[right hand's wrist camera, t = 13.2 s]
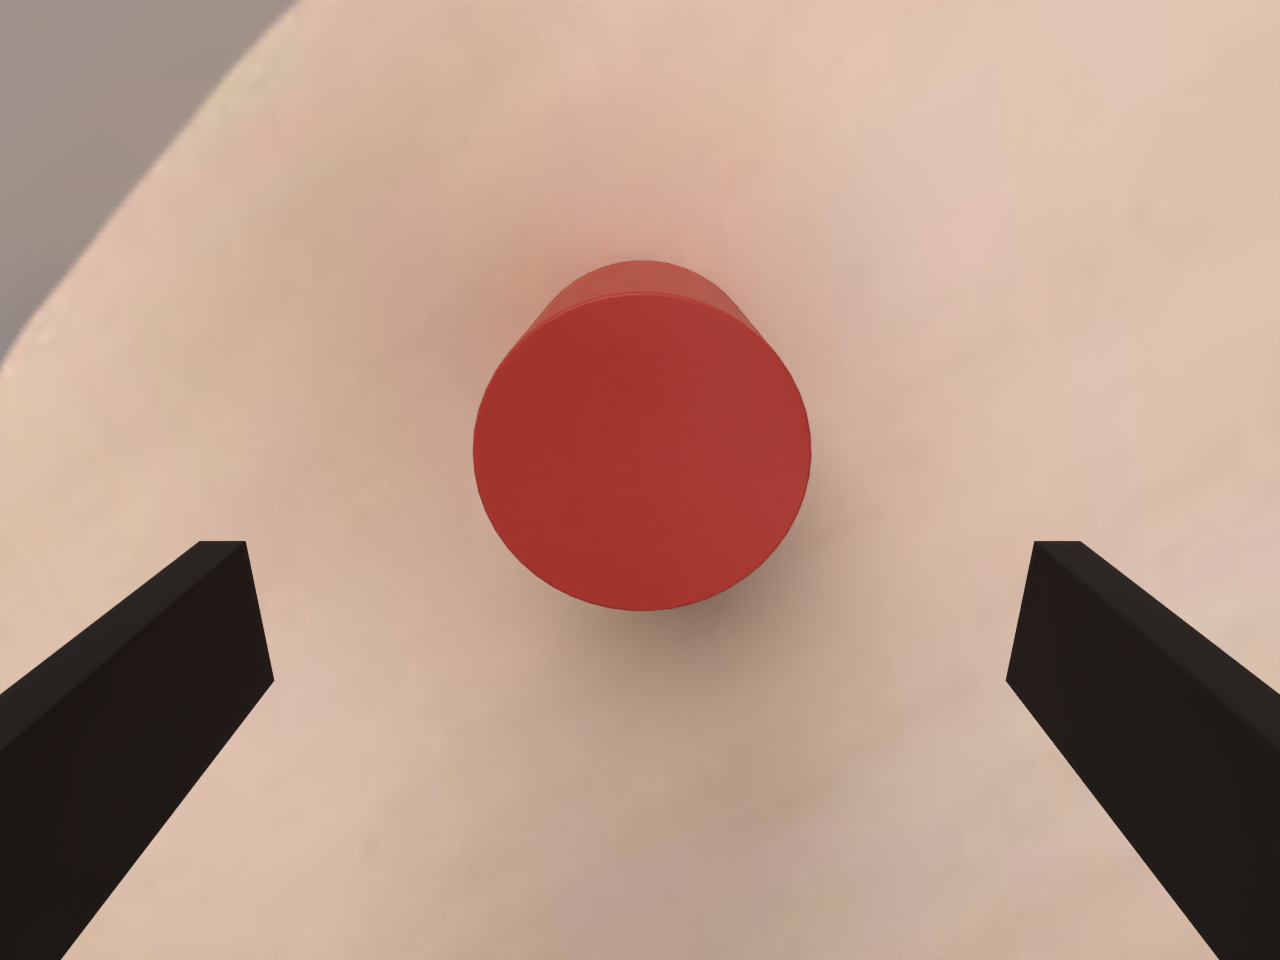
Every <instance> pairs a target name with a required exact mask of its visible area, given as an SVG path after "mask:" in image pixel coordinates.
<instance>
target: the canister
mask: <svg viewBox="0 0 1280 960" xmlns="http://www.w3.org/2000/svg"><path fill="white" fill-rule="evenodd" d="M473 462H474V473H475V478H476V483H477V487H478V492H479V495H480V498H481V501H482V503H483V506H484V509H485V512H486V514H487V516H488V518H489V519H490V521H491V523H492V525H493V527H494V529H495V531H496V532H497V534H498V535H499V537H500V538H501V539H502V541H503V542H504V544H505V545H506V547H507V548H508V549H509V550H510V551H511V552H512V553H513V555H514V556H515V557H516V558H517V559H518V560H519V561H520V562H521V563H522V564H523V565H524V566H525V567H527V568H528V569H529V570H530V571H531V572H532V573H534V574H535V575H536V576H537V577H539V578H540V579H542V580H543V581H545V582H546V583H548V584H549V585H551V586H552V587H554V588H556V589H558V590H560V591H562V592H564V593H566V594H568V595H570V596H572V597H574V598H577V599H580V600H583V601H585V602H588V603H591V604H595V605H599V606H603V607H607V608H613V609H621V610H629V611H654V610H663V609H672V608H676V607H681V606H685V605H690V604H693V603H696V602H699V601H702V600H705V599H707V598H710V597H712V596H714V595H716V594H718V593H721V592H723V591H725V590H727V589H729V588H730V587H732V586H733V585H735V584H736V583H738V582H740V581H741V580H743V579H744V578H746V577H747V576H748V575H749V574H751V573H752V572H753V571H754V570H755V569H757V568H758V567H759V566H760V565H761V564H762V563H763V562H764V561H765V560H766V559H767V558H768V557H769V556H770V555H771V554H772V553H773V552H774V551H775V549H776V548H777V547H778V545H779V544H780V543H781V541H782V540H783V538H784V537H785V536H786V534H787V533H788V531H789V529H790V527H791V526H792V524H793V522H794V520H795V518H796V516H797V514H798V512H799V509H800V507H801V504H802V501H803V499H804V496H805V492H806V488H807V484H808V480H809V475H810V465H811V434H810V429H809V423H808V418H807V413H806V410H805V407H804V404H803V401H802V398H801V395H800V392H799V390H798V388H797V386H796V384H795V382H794V380H793V378H792V376H791V374H790V372H789V371H788V369H787V368H786V367H785V365H784V364H783V362H782V361H781V359H780V358H779V356H778V355H777V354H776V353H775V351H774V350H773V349H772V348H771V346H770V345H769V344H768V343H767V342H766V340H765V339H764V338H763V337H762V336H761V334H760V333H759V332H758V331H757V330H756V328H755V327H754V326H753V325H752V324H751V322H750V321H749V320H748V319H747V318H746V316H745V315H744V314H743V313H742V312H741V310H740V309H739V308H738V307H737V306H736V304H735V303H734V302H733V301H732V300H731V299H730V298H729V297H728V296H727V295H726V294H725V293H724V292H723V291H722V290H721V289H719V288H718V287H717V286H716V285H715V284H713V283H712V282H710V281H709V280H707V279H705V278H704V277H702V276H701V275H699V274H697V273H694V272H692V271H690V270H688V269H685V268H683V267H679V266H676V265H672V264H669V263H663V262H656V261H629V262H621V263H616V264H612V265H609V266H605V267H602V268H599V269H597V270H595V271H592V272H590V273H588V274H586V275H584V276H582V277H581V278H579V279H577V280H576V281H574V282H573V283H571V284H570V285H569V286H568V287H566V288H565V289H564V290H563V291H561V292H560V293H559V294H558V295H557V296H556V297H555V298H554V299H553V300H552V302H551V303H550V304H549V305H548V306H547V307H546V308H545V310H544V311H543V312H542V313H541V314H540V316H539V317H538V318H537V319H536V320H535V322H534V323H533V324H532V325H531V326H530V328H529V329H528V330H527V331H526V332H525V334H524V335H523V336H522V337H521V338H520V340H519V341H518V342H517V343H516V344H515V346H514V347H513V348H512V349H511V350H510V351H509V353H508V354H507V356H506V357H505V358H504V360H503V361H502V362H501V364H500V365H499V367H498V368H497V369H496V371H495V373H494V375H493V377H492V379H491V380H490V382H489V384H488V386H487V388H486V390H485V393H484V396H483V399H482V401H481V404H480V407H479V410H478V414H477V419H476V424H475V429H474V440H473Z"/></svg>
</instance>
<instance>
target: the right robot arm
mask: <svg viewBox="0 0 1280 960" xmlns="http://www.w3.org/2000/svg"><path fill="white" fill-rule="evenodd" d="M273 682H274V677H273V672H272V667H271V662H270V658H269V653H268V648H267V643H266V638H265V633H264V628H263V623H262V619H261V614H260V609H259V604H258V599H257V594H256V589H255V584H254V580H253V575H252V570H251V565H250V560H249V555H248V550H247V545H246V541H199V542H198V543H197V544H195V545H194V546H193V547H191V548H190V549H189V550H187V551H186V552H185V553H184V554H182V555H181V556H180V557H178V558H177V559H176V560H174V561H173V562H172V563H171V564H169V565H168V566H167V567H165V568H164V569H163V570H161V571H160V572H159V573H158V574H156V575H155V576H154V577H152V578H151V579H150V580H148V581H147V582H146V583H145V584H143V585H142V586H141V587H139V588H138V589H137V590H135V591H134V592H133V593H132V594H130V595H129V596H128V597H126V598H125V599H124V600H122V601H121V602H120V603H119V604H117V605H116V606H115V607H113V608H112V609H111V610H109V611H108V612H107V613H106V614H104V615H103V616H102V617H100V618H99V619H98V620H96V621H95V622H94V623H93V624H91V625H90V626H89V627H87V628H86V629H85V630H83V631H82V632H81V633H80V634H78V635H77V636H76V637H74V638H73V639H72V640H70V641H69V642H68V643H67V644H65V645H64V646H63V647H61V648H60V649H59V650H57V651H56V652H55V653H54V654H52V655H51V656H50V657H48V658H47V659H46V660H44V661H43V662H42V663H41V664H39V665H38V666H37V667H35V668H34V669H33V670H31V671H30V672H29V673H28V674H26V675H25V676H24V677H22V678H21V679H20V680H18V681H17V682H16V683H15V684H13V685H12V686H11V687H9V688H8V689H7V690H5V691H4V692H3V693H2V694H0V960H61V959H62V957H63V956H64V955H65V954H66V952H67V951H68V950H69V948H70V947H71V946H72V944H73V943H74V942H75V940H76V939H77V938H78V937H79V935H80V934H81V933H82V931H83V930H84V929H85V927H86V926H87V925H88V923H89V922H90V921H91V920H92V918H93V917H94V916H95V914H96V913H97V912H98V910H99V909H100V908H101V906H102V905H103V904H104V903H105V901H106V900H107V899H108V897H109V896H110V895H111V893H112V892H113V891H114V889H115V888H116V887H117V886H118V884H119V883H120V882H121V880H122V879H123V878H124V876H125V875H126V874H127V872H128V871H129V870H130V869H131V867H132V866H133V865H134V863H135V862H136V861H137V859H138V858H139V857H140V855H141V854H142V853H143V852H144V850H145V849H146V848H147V846H148V845H149V844H150V842H151V841H152V840H153V838H154V837H155V836H156V835H157V833H158V832H159V831H160V829H161V828H162V827H163V825H164V824H165V823H166V822H167V820H168V819H169V818H170V816H171V815H172V814H173V812H174V811H175V810H176V808H177V807H178V806H179V805H180V803H181V802H182V801H183V799H184V798H185V797H186V795H187V794H188V793H189V791H190V790H191V789H192V788H193V786H194V785H195V784H196V782H197V781H198V780H199V778H200V777H201V776H202V774H203V773H204V772H205V771H206V769H207V768H208V767H209V765H210V764H211V763H212V761H213V760H214V759H215V757H216V756H217V755H218V754H219V752H220V751H221V750H222V748H223V747H224V746H225V744H226V743H227V742H228V740H229V739H230V738H231V737H232V735H233V734H234V733H235V731H236V730H237V729H238V727H239V726H240V725H241V723H242V722H243V721H244V720H245V718H246V717H247V716H248V714H249V713H250V712H251V710H252V709H253V708H254V706H255V705H256V704H257V703H258V701H259V700H260V699H261V697H262V696H263V695H264V693H265V692H266V691H267V689H268V688H269V687H270V686H271V684H272V683H273ZM1006 682H1007V683H1008V684H1009V686H1010V687H1011V688H1012V689H1013V691H1014V692H1015V693H1016V695H1017V696H1018V697H1019V699H1020V700H1021V701H1022V703H1023V704H1024V705H1025V706H1026V708H1027V709H1028V710H1029V712H1030V713H1031V714H1032V716H1033V717H1034V718H1035V720H1036V721H1037V722H1038V723H1039V725H1040V726H1041V727H1042V729H1043V730H1044V731H1045V733H1046V734H1047V735H1048V737H1049V738H1050V739H1051V740H1052V742H1053V743H1054V744H1055V746H1056V747H1057V748H1058V750H1059V751H1060V752H1061V754H1062V755H1063V756H1064V757H1065V759H1066V760H1067V761H1068V763H1069V764H1070V765H1071V767H1072V768H1073V769H1074V771H1075V772H1076V773H1077V774H1078V776H1079V777H1080V778H1081V780H1082V781H1083V782H1084V784H1085V785H1086V786H1087V788H1088V789H1089V790H1090V791H1091V793H1092V794H1093V795H1094V797H1095V798H1096V799H1097V801H1098V802H1099V803H1100V805H1101V806H1102V807H1103V808H1104V810H1105V811H1106V812H1107V814H1108V815H1109V816H1110V818H1111V819H1112V820H1113V822H1114V823H1115V824H1116V825H1117V827H1118V828H1119V829H1120V831H1121V832H1122V833H1123V835H1124V836H1125V837H1126V839H1127V840H1128V841H1129V842H1130V844H1131V845H1132V846H1133V848H1134V849H1135V850H1136V852H1137V853H1138V854H1139V855H1140V857H1141V858H1142V859H1143V861H1144V862H1145V863H1146V865H1147V866H1148V867H1149V869H1150V870H1151V871H1152V872H1153V874H1154V875H1155V876H1156V878H1157V879H1158V880H1159V882H1160V883H1161V884H1162V886H1163V887H1164V888H1165V889H1166V891H1167V892H1168V893H1169V895H1170V896H1171V897H1172V899H1173V900H1174V901H1175V903H1176V904H1177V905H1178V906H1179V908H1180V909H1181V910H1182V912H1183V913H1184V914H1185V916H1186V917H1187V918H1188V920H1189V921H1190V922H1191V923H1192V925H1193V926H1194V927H1195V929H1196V930H1197V931H1198V933H1199V934H1200V935H1201V937H1202V938H1203V939H1204V940H1205V942H1206V943H1207V944H1208V946H1209V947H1210V948H1211V950H1212V951H1213V952H1214V954H1215V955H1216V956H1217V957H1218V959H1219V960H1280V694H1278V693H1277V692H1276V691H1275V690H1273V689H1272V688H1271V687H1269V686H1268V685H1267V684H1265V683H1264V682H1263V681H1262V680H1260V679H1259V678H1258V677H1256V676H1255V675H1254V674H1252V673H1251V672H1250V671H1249V670H1247V669H1246V668H1245V667H1243V666H1242V665H1241V664H1239V663H1238V662H1237V661H1236V660H1234V659H1233V658H1232V657H1230V656H1229V655H1228V654H1226V653H1225V652H1224V651H1223V650H1221V649H1220V648H1219V647H1217V646H1216V645H1215V644H1213V643H1212V642H1211V641H1210V640H1208V639H1207V638H1206V637H1204V636H1203V635H1202V634H1200V633H1199V632H1198V631H1197V630H1195V629H1194V628H1193V627H1191V626H1190V625H1189V624H1187V623H1186V622H1185V621H1184V620H1182V619H1181V618H1180V617H1178V616H1177V615H1176V614H1174V613H1173V612H1172V611H1171V610H1169V609H1168V608H1167V607H1165V606H1164V605H1163V604H1161V603H1160V602H1159V601H1158V600H1156V599H1155V598H1154V597H1152V596H1151V595H1150V594H1148V593H1147V592H1146V591H1145V590H1143V589H1142V588H1141V587H1139V586H1138V585H1137V584H1135V583H1134V582H1133V581H1132V580H1130V579H1129V578H1128V577H1126V576H1125V575H1124V574H1122V573H1121V572H1120V571H1119V570H1117V569H1116V568H1115V567H1113V566H1112V565H1111V564H1109V563H1108V562H1107V561H1106V560H1104V559H1103V558H1102V557H1100V556H1099V555H1098V554H1096V553H1095V552H1094V551H1093V550H1091V549H1090V548H1089V547H1087V546H1086V545H1085V544H1083V543H1082V542H1081V541H1034V545H1033V550H1032V555H1031V560H1030V565H1029V570H1028V575H1027V580H1026V584H1025V589H1024V594H1023V599H1022V604H1021V609H1020V614H1019V619H1018V623H1017V628H1016V633H1015V638H1014V643H1013V648H1012V653H1011V658H1010V662H1009V667H1008V672H1007V677H1006Z"/></svg>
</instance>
